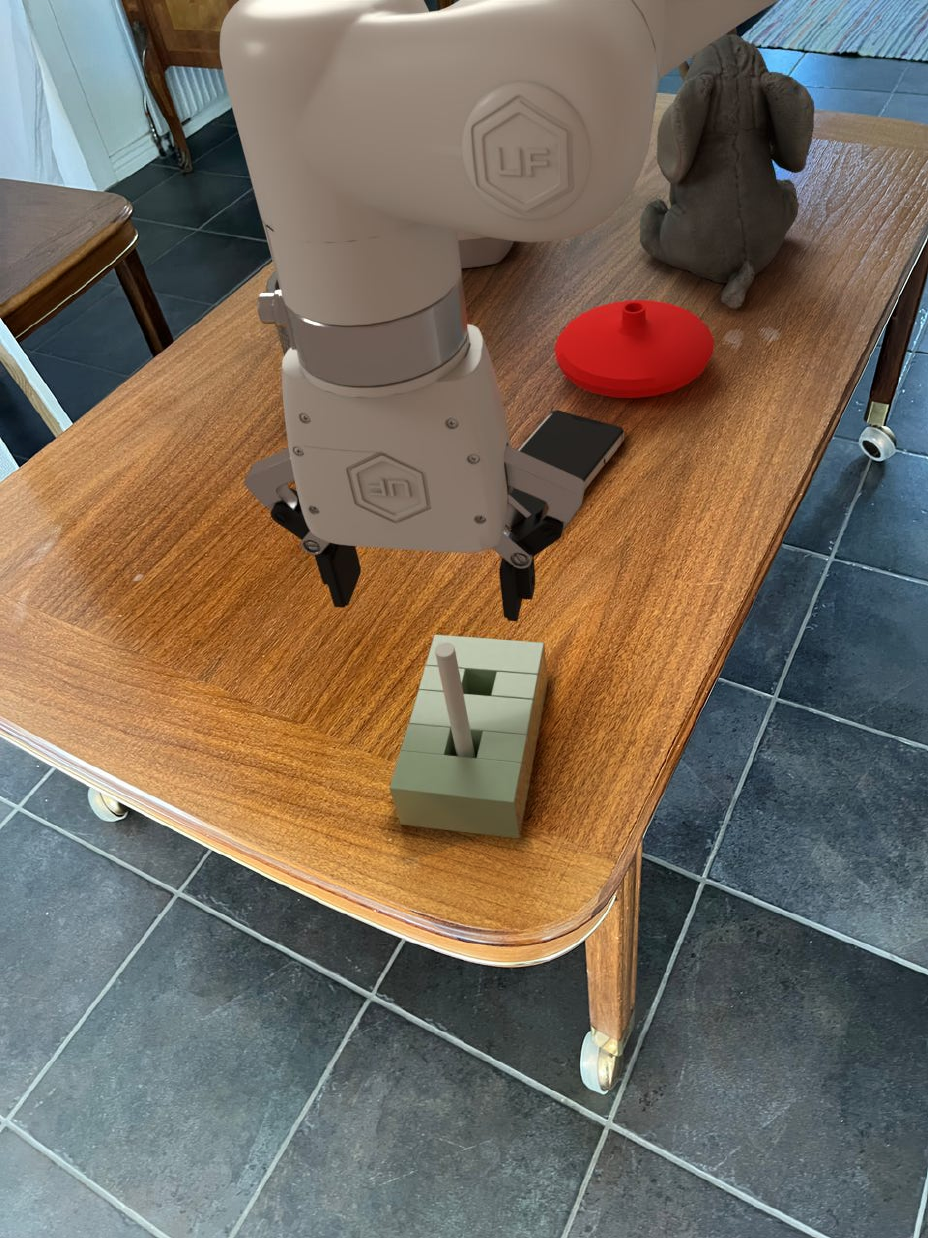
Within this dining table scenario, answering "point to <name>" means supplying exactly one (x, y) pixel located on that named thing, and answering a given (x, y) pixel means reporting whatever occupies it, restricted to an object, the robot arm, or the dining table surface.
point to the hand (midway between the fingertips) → (430, 595)
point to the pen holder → (474, 740)
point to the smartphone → (570, 449)
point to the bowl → (481, 249)
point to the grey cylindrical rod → (454, 699)
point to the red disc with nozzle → (634, 349)
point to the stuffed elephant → (728, 166)
